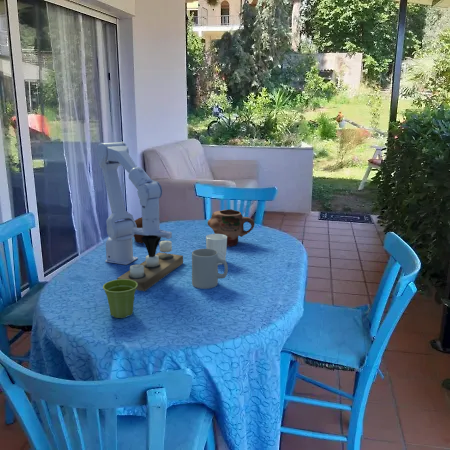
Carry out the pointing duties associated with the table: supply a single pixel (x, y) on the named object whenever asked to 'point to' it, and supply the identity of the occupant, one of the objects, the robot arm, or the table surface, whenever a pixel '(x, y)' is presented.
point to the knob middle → (152, 261)
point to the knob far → (165, 246)
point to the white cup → (217, 244)
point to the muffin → (139, 225)
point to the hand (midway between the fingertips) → (152, 256)
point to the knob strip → (155, 271)
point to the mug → (206, 268)
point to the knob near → (137, 271)
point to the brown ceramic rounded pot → (230, 225)
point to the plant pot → (120, 297)
